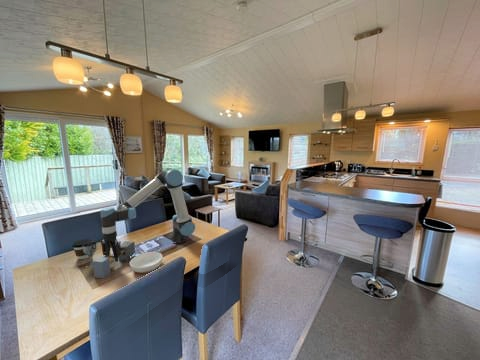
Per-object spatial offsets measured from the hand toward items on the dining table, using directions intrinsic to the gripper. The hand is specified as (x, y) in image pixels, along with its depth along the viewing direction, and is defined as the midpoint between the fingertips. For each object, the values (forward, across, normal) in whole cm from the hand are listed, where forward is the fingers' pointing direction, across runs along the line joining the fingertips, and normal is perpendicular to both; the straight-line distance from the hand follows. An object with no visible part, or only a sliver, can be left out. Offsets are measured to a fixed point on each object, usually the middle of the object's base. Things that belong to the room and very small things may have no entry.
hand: (112, 265), depth 128 cm
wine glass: (+2, +17, 0) cm, 17 cm away
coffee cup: (+2, +31, -6) cm, 32 cm away
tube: (-3, 0, -4) cm, 4 cm away
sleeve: (+2, 0, -12) cm, 13 cm away
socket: (+2, 0, +8) cm, 8 cm away
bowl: (+2, -22, -5) cm, 23 cm away
